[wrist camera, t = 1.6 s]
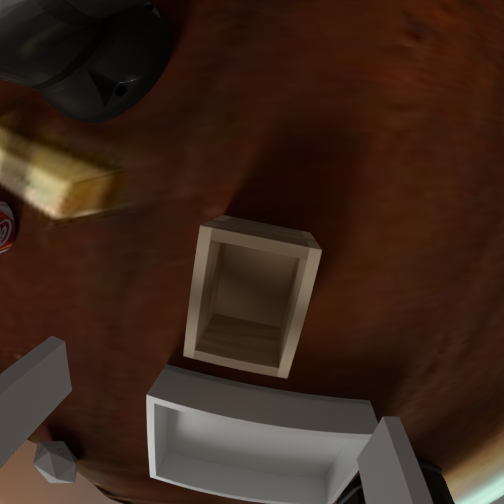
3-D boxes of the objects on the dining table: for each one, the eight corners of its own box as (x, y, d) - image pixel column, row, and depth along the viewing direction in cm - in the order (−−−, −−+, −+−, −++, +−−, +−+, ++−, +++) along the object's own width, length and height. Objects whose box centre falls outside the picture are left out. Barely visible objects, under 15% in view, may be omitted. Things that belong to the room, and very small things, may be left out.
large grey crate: (166, 363, 31) (146, 394, 25) (369, 400, 30) (381, 434, 24) (163, 447, 35) (150, 476, 29) (326, 476, 33) (329, 507, 28)
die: (86, 447, 38) (37, 451, 30) (92, 487, 36) (46, 494, 27) (66, 433, 42) (22, 433, 34) (70, 470, 40) (29, 474, 31)
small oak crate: (222, 215, 27) (200, 225, 20) (310, 232, 27) (322, 250, 19) (206, 315, 30) (183, 356, 22) (286, 332, 29) (287, 378, 21)
